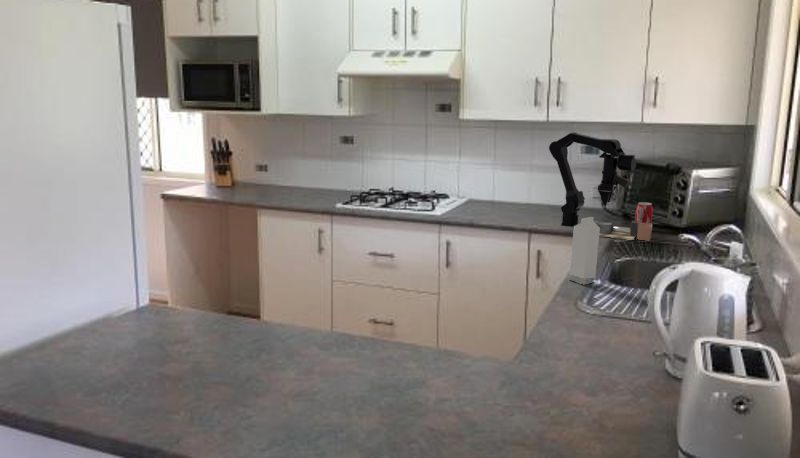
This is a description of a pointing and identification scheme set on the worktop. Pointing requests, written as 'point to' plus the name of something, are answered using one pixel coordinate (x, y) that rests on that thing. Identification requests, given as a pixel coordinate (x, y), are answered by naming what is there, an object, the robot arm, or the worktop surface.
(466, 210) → the worktop surface
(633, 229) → the hammer
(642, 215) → the soda can
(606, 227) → the sleeve mount
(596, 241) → the milk
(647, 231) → the socket block
